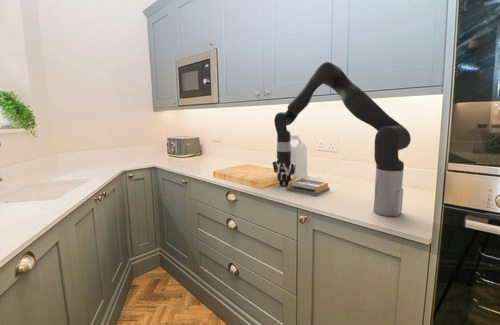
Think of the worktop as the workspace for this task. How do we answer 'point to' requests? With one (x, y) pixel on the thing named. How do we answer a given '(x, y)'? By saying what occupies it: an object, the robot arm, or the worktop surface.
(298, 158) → the milk
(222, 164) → the worktop surface
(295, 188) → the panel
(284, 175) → the dark piece
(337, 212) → the worktop surface
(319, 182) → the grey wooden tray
